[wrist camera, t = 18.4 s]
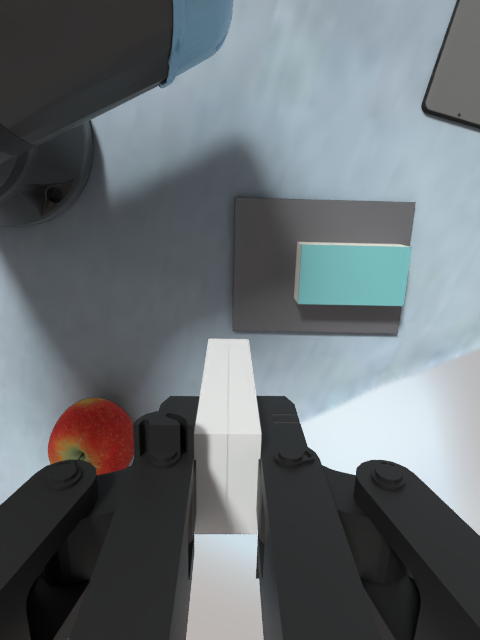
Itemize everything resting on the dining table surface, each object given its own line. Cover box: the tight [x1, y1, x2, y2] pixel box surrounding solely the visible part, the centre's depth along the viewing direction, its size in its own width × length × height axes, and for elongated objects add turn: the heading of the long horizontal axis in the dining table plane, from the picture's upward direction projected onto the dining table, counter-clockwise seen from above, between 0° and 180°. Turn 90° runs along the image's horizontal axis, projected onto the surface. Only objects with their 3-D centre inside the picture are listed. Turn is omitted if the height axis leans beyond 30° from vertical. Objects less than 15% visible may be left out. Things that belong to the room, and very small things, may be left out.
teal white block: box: [294, 242, 412, 306], centre depth 40 cm, size 3×6×10 cm
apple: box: [48, 398, 134, 475], centre depth 41 cm, size 8×8×10 cm
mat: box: [233, 198, 416, 333], centre depth 41 cm, size 17×13×1 cm
